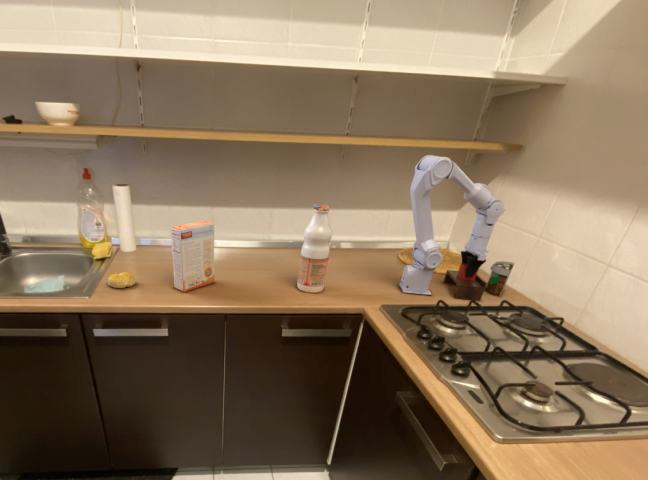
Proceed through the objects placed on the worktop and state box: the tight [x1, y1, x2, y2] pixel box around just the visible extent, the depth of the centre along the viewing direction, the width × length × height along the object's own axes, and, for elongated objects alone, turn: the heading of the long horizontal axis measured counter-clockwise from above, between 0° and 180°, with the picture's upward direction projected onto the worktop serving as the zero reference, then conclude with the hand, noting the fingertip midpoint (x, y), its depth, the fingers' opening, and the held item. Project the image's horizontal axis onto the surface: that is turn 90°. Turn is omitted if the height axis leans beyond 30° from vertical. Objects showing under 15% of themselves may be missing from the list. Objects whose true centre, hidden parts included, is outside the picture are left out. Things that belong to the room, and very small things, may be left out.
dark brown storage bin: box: [442, 269, 488, 302], centre depth 137 cm, size 8×16×6 cm, turn 169°
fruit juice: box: [296, 204, 333, 294], centre depth 129 cm, size 9×9×28 cm
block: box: [457, 262, 479, 281], centre depth 135 cm, size 4×4×4 cm
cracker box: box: [170, 220, 215, 293], centre depth 129 cm, size 14×6×21 cm, turn 134°
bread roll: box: [107, 271, 136, 289], centre depth 131 cm, size 8×9×4 cm
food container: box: [485, 260, 515, 297], centre depth 138 cm, size 12×6×10 cm, turn 141°
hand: (466, 274), depth 136 cm, fingers closed on block, 4 cm apart
